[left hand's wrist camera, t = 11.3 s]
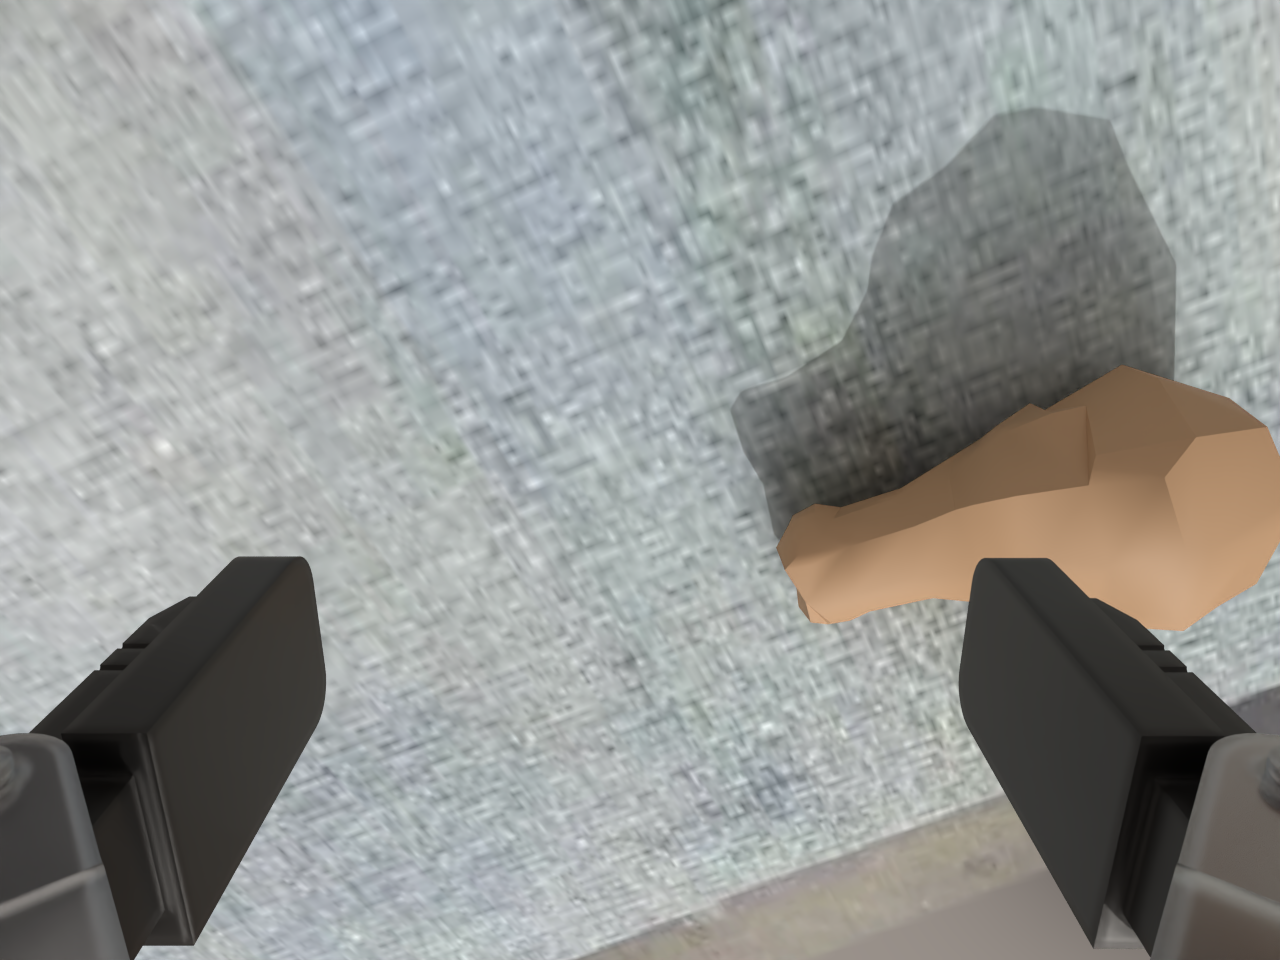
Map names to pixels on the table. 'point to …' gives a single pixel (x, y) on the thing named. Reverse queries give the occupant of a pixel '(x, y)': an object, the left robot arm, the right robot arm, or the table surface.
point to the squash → (1065, 509)
